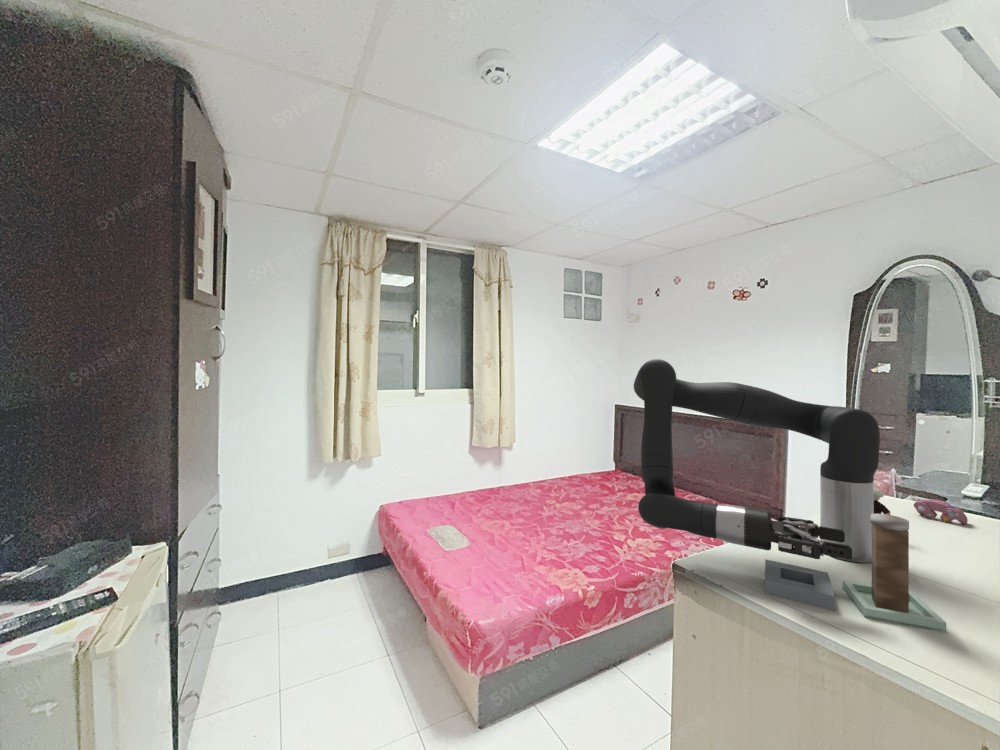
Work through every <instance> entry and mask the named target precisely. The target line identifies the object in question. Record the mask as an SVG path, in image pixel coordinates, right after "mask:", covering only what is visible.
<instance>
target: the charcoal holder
mask: <svg viewBox="0 0 1000 750" xmlns="http://www.w3.org/2000/svg"><path fill="white" fill-rule="evenodd" d="M764 563H765V564H764V565H765V566H764V567H765V568H764V594H765V595H768V596H773V597H776V598H781V599H785V600H788V601H793V602H797V603H800V604H805V605H809V606H811V607H816V608H821V609H825V610H827V611H828V610H829V611H833V612H835V610H836V609H835V608H836V607H835V606H836V604H835V603H836V602H835V600H836V599H835V598H836V597H835V593H834V588H833V585H832V582H831V579H830V575H829V572H826V571H822V570H818V569H812V568H807V567H804V566H799V565H794V564H789V563H783V562H779V561H775V560H771V559H766V558H765V562H764Z"/></svg>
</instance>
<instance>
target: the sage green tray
mask: <svg viewBox="0 0 1000 750" xmlns="http://www.w3.org/2000/svg"><path fill="white" fill-rule="evenodd" d="M842 590H843V591H844V593H846V595H847V596H848V598H849V599H850V600H851V602H852V603H853V605H854V606H855V607H856V608H857V609H858V611H859V612H860V613H861V615H862V616H863V617H864V618H866V619H872V620H877V621H883V622H887V623H893V624H899V625H904V626H909V627H914V628H919V629H926V630H930V631H937V632H941V633H947V622H946V621H945V620H944V619H943V618H942V617H941V616H940V615H939V614H938V613H936V612H935V611H934V609H933V608H931V607H930V606H929V604H927V603H926V602H925V601H923V599H921V597H920V596H918V594H916V593H915V592H914V591H911V590H909V613H905V612H899V611H894V610H888V609H882V608H877V607H875V604H874V602H873V600H872V584H869V583H862V582H857V581H856V582H855V581H851V580H844V579H843V580H842Z"/></svg>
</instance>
